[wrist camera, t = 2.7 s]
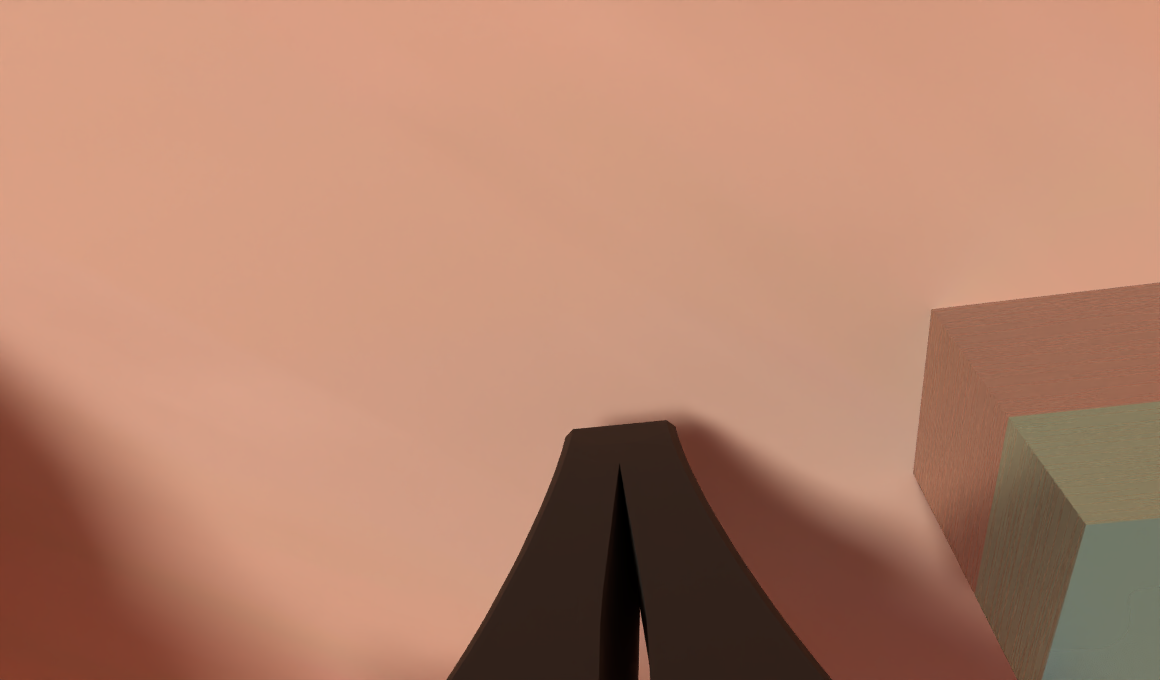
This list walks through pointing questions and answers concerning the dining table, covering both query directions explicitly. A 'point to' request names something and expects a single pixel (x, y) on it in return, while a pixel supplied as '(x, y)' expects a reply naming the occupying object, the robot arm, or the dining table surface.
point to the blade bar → (1052, 474)
